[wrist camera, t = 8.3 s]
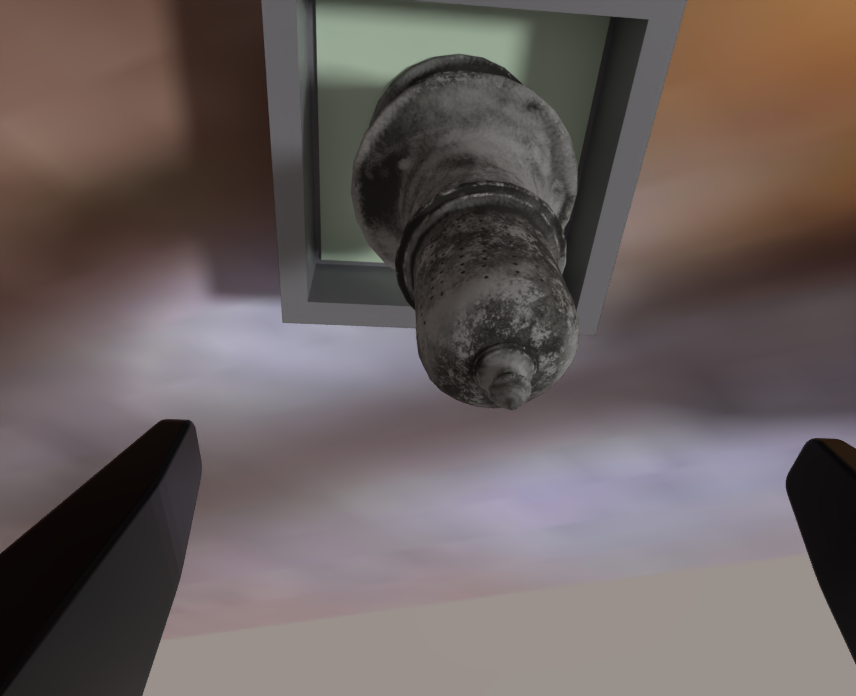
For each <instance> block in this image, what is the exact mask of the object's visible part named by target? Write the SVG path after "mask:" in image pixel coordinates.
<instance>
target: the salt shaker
mask: <svg viewBox="0 0 856 696" xmlns="http://www.w3.org/2000/svg"><path fill="white" fill-rule="evenodd" d="M577 180H578V163H577V159H576V155H575V151H574V147H573V144H572V140H571V136H570V135H569V133H568V131H567V130H566V128H565V126H564V125H563V123H562V121H561V120H560V118H559V116H558V115H557V113H556V111H555V110H554V109H553V108H552V107H551V106H550V105H549V104H547V103H546V102H545V101H544V100H543V99H542V98H541V97H540V96H539V95H538V94H536V93H535V92H534V91H533V90H532V89H530V88H528V87H526V86H524V85H523V84H522V83H521V82H520V81H519V80H518V79H517V78H516V77H514V76H513V75H512V74H511V73H510V72H509V71H508V70H507V69H506V68H504V67H502V66H500V65H498V64H496V63H494V62H492V61H490V60H487V59H485V58H483V57H477V56H471V55H465V54H452V55H444V56H436V57H433V58H430V59H428V60H426V61H423V62H421V63H419V64H416V65H414V66H412V67H410V68H409V69H408V70H407V71H405V72H404V73H403V74H402V75H400V76H399V77H398V78H397V79H395V80H394V81H393V82H392V83H391V84H390V86H389V87H388V88H387V90H386V91H385V93H384V94H383V95H382V97H381V98H380V100H379V101H378V103H377V105H376V108H375V111H374V113H373V116H372V119H371V121H370V124H369V128H368V129H367V130H366V132H365V133H364V135H363V138H362V140H361V143H360V146H359V148H358V151H357V154H356V156H355V159H354V162H353V172H352V183H351V197H352V202H353V207H354V212H355V218H356V221H357V223H358V225H359V227H360V229H361V231H362V233H363V235H364V237H365V239H366V241H367V243H368V245H369V246H370V247H371V248H372V249H373V250H374V252H375V253H376V254H377V255H378V256H379V257H380V258H381V259H382V261H383V262H384V263H385V264H386V265H388V266H389V267H391V268H392V269H394V270H395V271H396V276H397V283H398V285H399V287H400V290H401V292H402V294H403V296H404V298H405V300H406V301H407V303H408V304H409V305H410V306H411V307H412V308H413V309H414V310H415V316H416V338H417V346H418V353H419V357H420V359H421V362H422V364H423V366H424V368H425V370H426V372H427V374H428V376H429V378H430V380H431V381H432V382H433V383H434V384H435V385H436V386H437V387H438V388H439V389H440V390H441V391H442V392H444V393H446V394H447V395H449V396H451V397H452V398H454V399H456V400H458V401H461V402H464V403H467V404H470V405H473V406H477V407H485V408H501V407H502V408H506V409H509V410H515V409H517V408H518V407H519V406H521V405H522V404H523V403H524V402H527V401H530V400H532V399H533V398H535V397H537V396H539V395H541V394H542V393H544V392H545V391H546V390H548V389H549V388H550V387H551V386H552V385H553V384H555V383H556V382H557V381H558V380H559V379H560V378H561V377H562V376H563V374H564V373H565V371H566V370H567V369H568V367H569V366H570V364H571V363H572V361H573V359H574V356H575V353H576V350H577V348H578V339H579V318H578V315H577V312H576V308H575V305H574V302H573V300H572V297H571V295H570V293H569V290H568V288H567V286H566V283H565V281H564V279H563V276H562V274H563V271H564V267H565V264H566V245H567V243H566V239H565V236H564V232H563V229H564V228H565V226H566V224H567V223H568V221H569V219H570V215H571V212H572V209H573V205H574V202H575V199H576V195H577Z"/></svg>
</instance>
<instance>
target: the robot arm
mask: <svg viewBox="0 0 856 696" xmlns="http://www.w3.org/2000/svg"><path fill="white" fill-rule="evenodd" d="M201 473H202V462H201V456H200V450H199V445H198V439H197V433H196V428H195V426H194V424H193V422H192V421H190V420H179V419H164V420H161V421H159V422H158V423H157V424H155V425H154V426H153V427H152V428H151V429H149V430H148V431H147V432H146V433H145V434H143V435H142V436H141V437H140V438H139V439H137V440H136V441H135V442H134V443H133V444H131V445H130V446H129V447H128V448H127V449H125V450H124V451H123V452H122V453H121V454H119V455H118V456H117V457H116V458H115V459H113V460H112V461H111V462H110V463H109V464H107V465H106V466H105V467H104V468H103V469H101V470H100V471H99V472H98V473H97V474H95V475H94V476H93V477H92V478H91V479H89V480H88V481H87V482H86V483H85V484H83V485H82V486H81V487H80V488H79V489H77V490H76V491H75V492H74V493H73V494H71V495H70V496H69V497H68V498H67V499H65V500H64V501H63V502H62V503H61V504H59V505H58V506H57V507H56V508H55V509H53V510H52V511H51V512H50V513H49V514H47V515H46V516H45V517H44V518H43V519H41V520H40V521H39V522H38V523H37V524H35V525H34V526H33V527H32V528H31V529H29V530H28V531H27V532H26V533H25V534H23V535H22V536H21V537H20V538H19V539H17V540H16V541H15V542H14V543H13V544H11V545H10V546H9V547H8V548H7V549H5V550H4V551H3V552H2V553H1V554H0V696H142V695H143V692H144V688H145V686H146V683H147V679H148V677H149V673H150V670H151V667H152V664H153V661H154V658H155V655H156V652H157V649H158V646H159V643H160V640H161V637H162V634H163V631H164V628H165V625H166V622H167V619H168V616H169V613H170V610H171V607H172V604H173V601H174V597H175V594H176V591H177V588H178V584H179V581H180V577H181V573H182V568H183V564H184V559H185V554H186V549H187V544H188V539H189V535H190V530H191V525H192V520H193V515H194V510H195V505H196V500H197V495H198V490H199V485H200V480H201ZM786 491H787V494H788V497H789V500H790V503H791V506H792V509H793V512H794V515H795V517H796V520H797V523H798V526H799V529H800V532H801V535H802V538H803V541H804V543H805V546H806V549H807V552H808V555H809V558H810V561H811V563H812V566H813V569H814V572H815V575H816V577H817V580H818V582H819V585H820V588H821V590H822V592H823V594H824V597H825V599H826V601H827V603H828V606H829V608H830V610H831V612H832V614H833V616H834V619H835V621H836V623H837V625H838V627H839V629H840V631H841V634H842V636H843V638H844V640H845V642H846V644H847V647H848V649H849V651H850V653H851V655H852V657H853V659H854V662H855V664H856V449H855V448H854V447H852V446H850V445H849V444H847V443H846V442H844V441H842V440H839V439H827V438H814V439H811V440H809V441H808V442H806V444H805V445H804V447H803V448H802V450H801V452H800V454H799V455H798V457H797V459H796V461H795V462H794V464H793V466H792V468H791V469H790V471H789V473H788V475H787V478H786Z"/></svg>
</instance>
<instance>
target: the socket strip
mask: <svg viewBox="0 0 856 696" xmlns="http://www.w3.org/2000/svg"><path fill="white" fill-rule="evenodd" d="M261 2H262V17H263V33H264V48H265V63H266V78H267V94H268V109H269V124H270V139H271V154H272V170H273V185H274V200H275V215H276V231H277V246H278V261H279V276H280V292H281V307H282V322H283V323H301V324H325V325H350V326H374V327H398V328H416V316H415V310H414V309H413V308H412V307H411V306H410V305H409V304H408V303H407V301H406V300H405V298H404V296H403V294H402V292H401V290H400V287H399V285H398V283H397V276H396V271H395V270H394V269H392V268H391V267H389V266H388V265H386V264H385V263H384V262H383V261H382V259H381V258H380V257H379V256H378V255H377V254H376V253H375V252H374V250H373V249H372V248H371V247H370V246H369V245H368V243H367V241H366V239H365V237H364V235H363V233H362V231H361V229H360V227H359V225H358V223H357V221H356V218H355V212H354V207H353V202H352V197H351V183H352V172H353V162H354V159H355V156H356V154H357V151H358V148H359V146H360V143H361V140H362V138H363V135H364V133H365V132H366V130H367V129H368V128H369V124H370V121H371V119H372V116H373V113H374V111H375V108H376V105H377V103H378V101H379V100H380V98H381V97H382V95H383V94H384V93H385V91H386V90H387V88H388V87H389V86H390V84H391V83H392V82H393V81H394V80H395V79H397V78H398V77H399V76H400V75H402V74H403V73H404V72H405V71H407V70H408V69H409V68H410V67H412V66H414V65H416V64H419V63H421V62H423V61H426V60H428V59H430V58H433V57H436V56H444V55H452V54H465V55H471V56H477V57H483V58H485V59H487V60H490V61H492V62H494V63H496V64H498V65H500V66H502V67H504V68H506V69H507V70H508V71H509V72H510V73H511V74H512V75H513V76H514V77H516V78H517V79H518V80H519V81H520V82H521V83H522V84H523V85H524V86H526V87H528V88H530V89H532V90H533V91H534V92H535V93H536V94H538V95H539V96H540V97H541V98H542V99H543V100H544V101H545V102H546V103H547V104H549V105H550V106H551V107H552V108H553V109H554V110H555V111H556V113H557V115H558V116H559V118H560V120H561V121H562V123H563V125H564V126H565V128H566V130H567V131H568V133H569V135H570V136H571V140H572V144H573V147H574V151H575V155H576V159H577V163H578V180H577V195H576V199H575V202H574V205H573V209H572V212H571V215H570V219H569V221H568V223H567V224H566V226H565V228H564V229H563V232H564V236H565V239H566V243H567V245H566V264H565V267H564V271H563V274H562V276H563V279H564V281H565V283H566V286H567V288H568V290H569V293H570V295H571V297H572V300H573V302H574V305H575V308H576V312H577V315H578V318H579V335H594V336H595V333H596V330H597V326H598V323H599V319H600V315H601V312H602V308H603V304H604V301H605V297H606V293H607V290H608V286H609V282H610V279H611V275H612V271H613V268H614V264H615V261H616V257H617V253H618V250H619V246H620V242H621V239H622V235H623V231H624V228H625V224H626V220H627V217H628V213H629V209H630V206H631V202H632V199H633V195H634V191H635V188H636V184H637V180H638V177H639V173H640V169H641V166H642V162H643V158H644V155H645V151H646V147H647V144H648V140H649V137H650V133H651V129H652V126H653V122H654V118H655V115H656V111H657V107H658V104H659V100H660V96H661V93H662V89H663V85H664V82H665V78H666V75H667V71H668V67H669V64H670V60H671V56H672V53H673V49H674V45H675V42H676V38H677V34H678V31H679V27H680V23H681V20H682V16H683V13H684V9H685V5H686V2H687V0H261Z"/></svg>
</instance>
